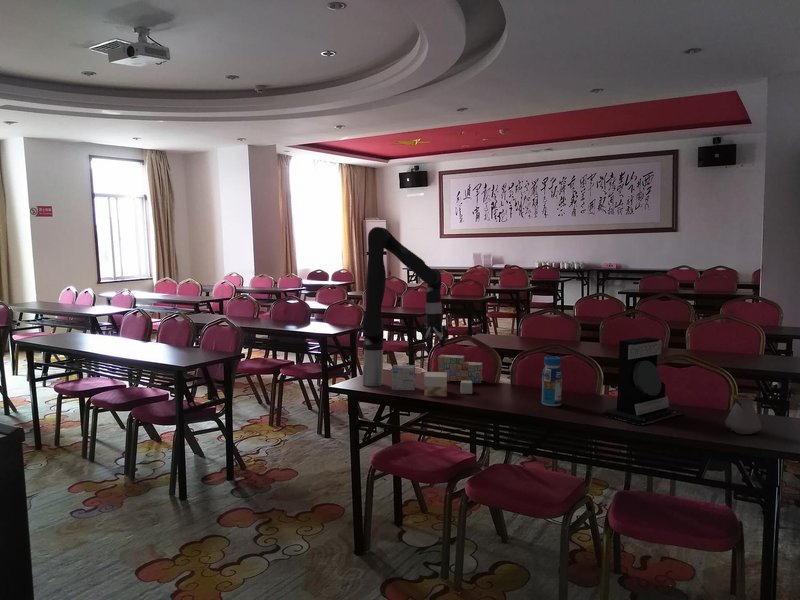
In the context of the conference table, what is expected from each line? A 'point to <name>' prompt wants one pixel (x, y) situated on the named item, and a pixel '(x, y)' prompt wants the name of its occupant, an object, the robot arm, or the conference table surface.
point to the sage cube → (466, 387)
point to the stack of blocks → (460, 368)
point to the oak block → (435, 391)
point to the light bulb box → (403, 377)
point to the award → (640, 383)
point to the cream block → (435, 379)
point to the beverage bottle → (552, 381)
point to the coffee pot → (743, 415)
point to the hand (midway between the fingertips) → (435, 346)
